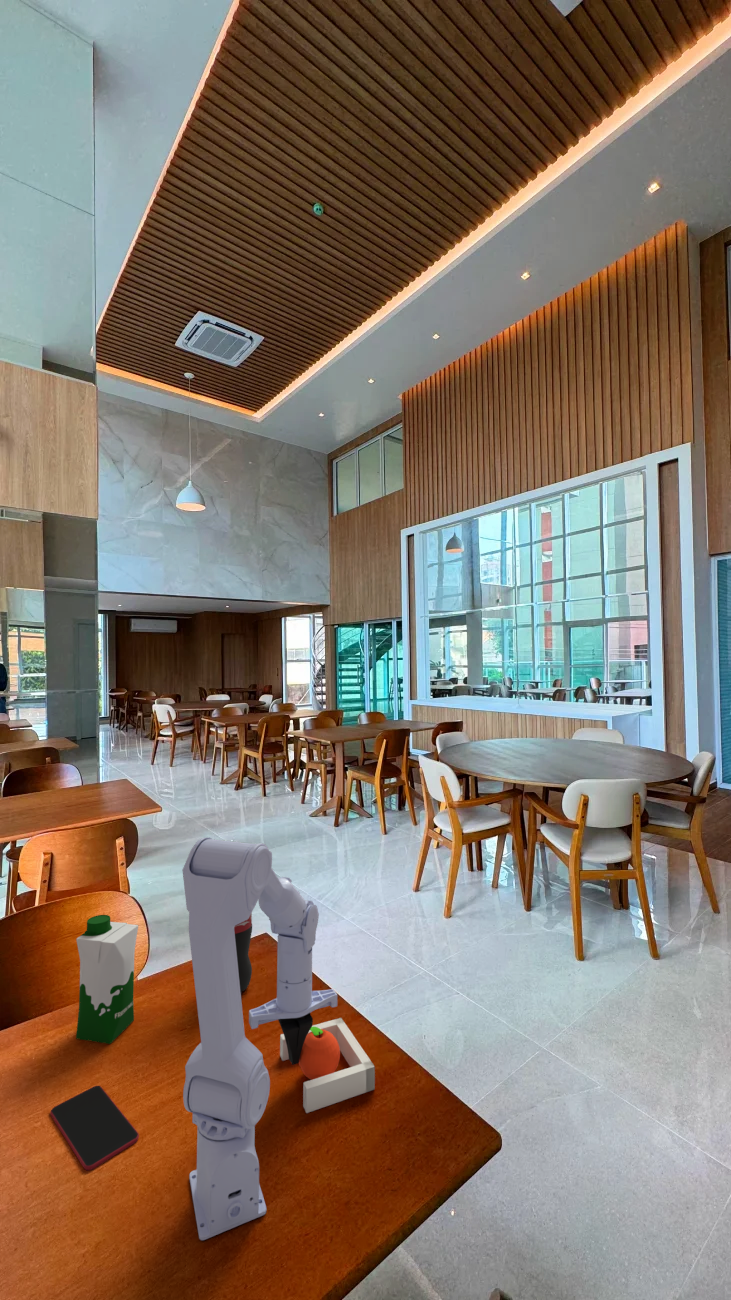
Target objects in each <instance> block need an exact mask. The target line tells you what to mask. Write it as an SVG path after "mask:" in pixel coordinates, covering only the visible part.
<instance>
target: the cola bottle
mask: <svg viewBox="0 0 731 1300" xmlns="http://www.w3.org/2000/svg"><path fill="white" fill-rule="evenodd" d="M252 914H253V912H252V913H251V915H250V917H249V919H247V920H245V921H243V922H241V923H239V924H237V925H235V927H234V932H235V942H236V952H237V962H238V972H239V982H240V992H241V993H243V992H244V991H246V989H248V987H249V985H250V983H251V979H252V973H253V968H252V967H253V966H252V963H251V960H250V959H251V958H250V957H249V956H250V955H249V951H250V946H251V940H252V932H253V923H252V922H253V916H252ZM242 991H243V992H242Z"/></svg>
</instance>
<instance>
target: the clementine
mask: <svg viewBox="0 0 731 1300" xmlns="http://www.w3.org/2000/svg"><path fill="white" fill-rule="evenodd" d="M310 1030H311V1031H312V1032H310V1033H309V1034H307V1036H306V1038H305V1041H304V1044H303V1047H302V1050H301V1054H300V1059H299V1063H298V1065H299V1067H300V1070H301V1072H302V1073H303V1075H304V1076H305V1077H306V1078H308V1079H309V1080H313V1079H316V1078H319V1077H322V1076H325V1075H328V1074H331V1073H334V1072H337V1071H336V1070H337V1068H338V1066H339V1063H340V1059H341V1051H340V1047H339V1044H338V1042H337V1039H336V1038H335V1037H334V1036H333V1034H332V1033H330V1032H329V1031H326V1030H323V1029H319V1028H318V1027H311V1029H310Z"/></svg>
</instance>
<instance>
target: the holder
mask: <svg viewBox="0 0 731 1300" xmlns="http://www.w3.org/2000/svg"><path fill="white" fill-rule="evenodd" d="M312 1027H318V1028H319V1029H323V1030H326V1031H329V1032H330V1033H332V1034H333V1036H334V1037H335V1038H336V1039H337V1042H338V1044H339V1047H340V1054H341V1055H342V1056H343V1057H344V1059H345V1061H346V1062H347V1064H348V1066H349V1067H348V1068H344V1069H341V1070H338V1071H335V1072H334V1073H331V1074H328V1075H325V1076H322V1077H319V1078H316V1079H313V1080H311V1079H309V1080H306V1081H304V1082H302V1083H303V1085H302V1086H303V1088H302V1089H303V1091H302V1094H303V1095H302V1097H303V1098H302V1100H303V1102H302V1103H303V1104H302V1107H303V1109H304V1111H305V1113H306V1114H309V1113H310V1112H314V1111H317V1110H319V1109H322V1108H325V1107H328V1106H331V1105H335V1104H336V1103H340V1102H343V1101H345V1100H348V1099H351V1098H353V1097H357V1096H360V1095H362V1094H365V1093H368V1092H371V1091H374V1090H376V1089H375V1087H376V1086H375V1084H376V1077H375V1076H376V1074H375V1073H376V1071H375V1070H376V1067H375V1065H374V1063H373V1061H371V1059H370V1057H369V1056H368V1055H367V1053H366V1052H365V1050H364V1049H363V1047H362V1046H361V1044H360V1043H359V1042H358V1040H357V1038H356V1037H355V1035H354V1034H353V1032H352V1031H351V1030H350V1028H349V1027H348V1025H347V1024H346V1023H345V1021H344V1020H343V1018H342V1017H339V1018H335V1019H332V1020H328V1021H324V1022H321V1023H318V1024H312ZM310 1032H312V1031H311V1030H309V1032H308V1034H309V1033H310ZM279 1038H280V1039H279V1040H280V1041H279V1043H280V1045H279V1056H280V1058H281V1061H282V1062H284V1061H286V1060H289V1056H288V1049H287V1044H286V1040H285V1037H284V1034H283V1033H281V1034H280V1037H279Z"/></svg>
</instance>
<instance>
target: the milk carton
mask: <svg viewBox="0 0 731 1300" xmlns="http://www.w3.org/2000/svg"><path fill="white" fill-rule="evenodd" d="M138 931H139V925H138V924H129V923H127V922H120V921H119V922H118V921H111V916H110V915H108V914H98V915H94V916H92V917H90V918H88V919H87V920H86V930H85V931H84V933H82V934H81V935H80V936H78V937H77V938H76V939H75V940H76V945H77V951H78V955H79V962H80V963H79V995H78V996H79V998H78V1013H77V1023H76V1034H75V1039H76V1040H82V1041H83V1040H84V1041H88V1042H95V1043H101V1044H108V1045H111V1044H112V1043H113V1042H114V1041H115V1040H116V1039H117V1038H118V1037H119V1036H120V1035H122V1033H123V1032H124V1031H125V1030H126V1029H127V1028H128V1027H129V1026H130V1025H131V1024H132V1023H133V1022H134V1021H135V1016H134V1015H135V1013H134V1012H135V1009H134V991H135V990H134V987H135V984H134V982H135V952H136V951H135V950H136V944H137V937H138V936H137V935H138V933H139V932H138Z"/></svg>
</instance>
